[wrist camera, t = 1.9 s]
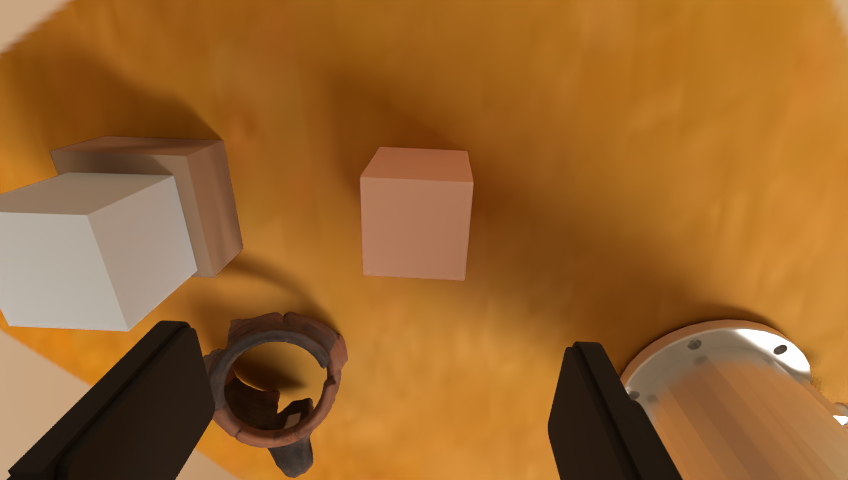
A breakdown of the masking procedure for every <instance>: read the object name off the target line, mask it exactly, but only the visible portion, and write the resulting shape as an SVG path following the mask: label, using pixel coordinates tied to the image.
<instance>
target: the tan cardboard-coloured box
mask: <svg viewBox="0 0 848 480" xmlns="http://www.w3.org/2000/svg"><path fill="white" fill-rule="evenodd" d="M49 152H50V154H51V157H52V160H53V162H54V165H55V168H56V170H57V173H58V176H59V175H62V174H65V173H69V172H73V173H107V174H141V175H174V179H175V183H176V187H177V191H178V195H179V199H180V203H181V206H182V210H183V214H184V218H185V222H186V226H187V230H188V234H189V238H190V242H191V246H192V250H193V254H194V258H195V262H196V266H197V271H196V272H195V273H194V274H193V275H192V276H191V277H208V278H214V277H215V276H216V275H217V274H218V273H219V272H220V271H221V270H222V269H223V268H224V267H225V266H226V265H227V264H228V263H229V262H230V261H231V260H232V259H233V258H234V257H235V256H236V255H237V254H238V253H239V252H240V251H241V250H242V249H243V244H242V238H241V233H240V227H239V222H238V217H237V211H236V206H235V200H234V195H233V189H232V184H231V179H230V173H229V168H228V162H227V157H226V152H225V146H224V141H223V140H203V139H176V138H149V137H122V136H103V137H100V138H96V139H92V140H88V141H84V142H81V143H77V144H73V145H69V146H66V147H62V148H58V149H54V150H50V151H49Z"/></svg>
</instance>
